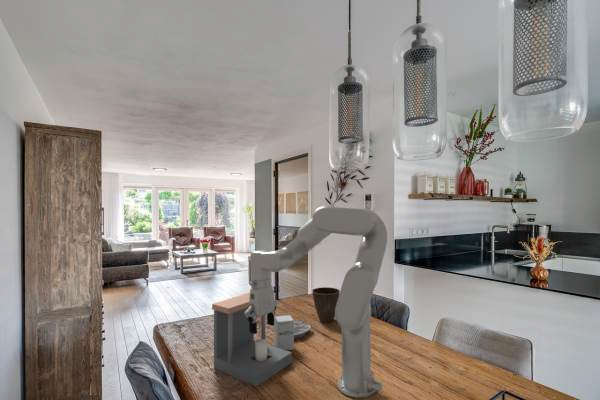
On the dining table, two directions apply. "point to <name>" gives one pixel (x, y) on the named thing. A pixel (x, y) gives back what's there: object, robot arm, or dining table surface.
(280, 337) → the supplement box
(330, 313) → the plant pot
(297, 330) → the brain slice
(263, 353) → the peg
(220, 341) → the socket station
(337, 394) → the dining table surface
